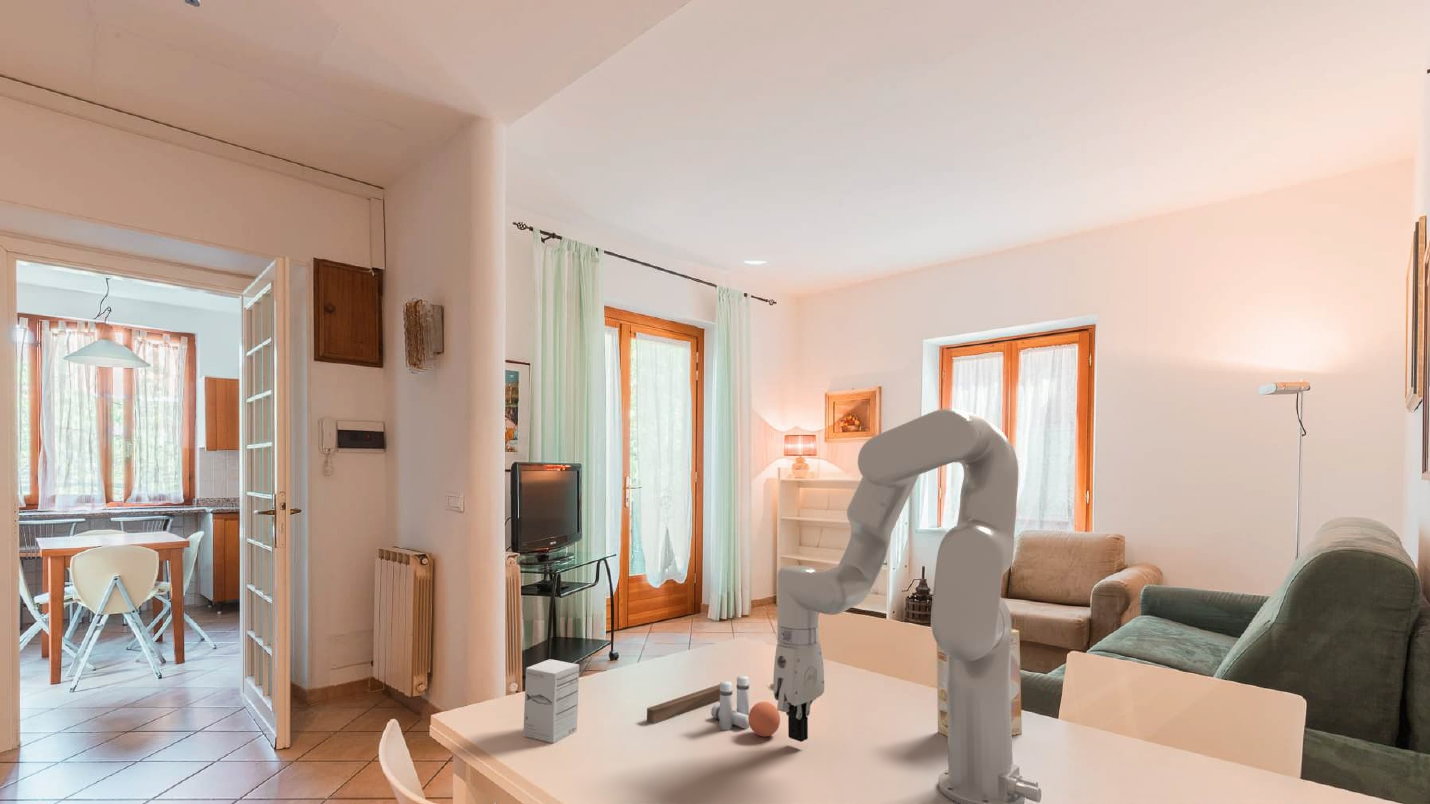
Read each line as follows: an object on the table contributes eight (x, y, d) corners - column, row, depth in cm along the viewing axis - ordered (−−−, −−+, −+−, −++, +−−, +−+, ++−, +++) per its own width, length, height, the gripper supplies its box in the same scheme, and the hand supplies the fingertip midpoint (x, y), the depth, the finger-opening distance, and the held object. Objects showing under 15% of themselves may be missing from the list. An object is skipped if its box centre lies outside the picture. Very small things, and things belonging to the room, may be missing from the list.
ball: (759, 696, 135) (764, 729, 134) (739, 705, 131) (744, 739, 130) (783, 698, 131) (788, 732, 130) (764, 707, 127) (769, 742, 126)
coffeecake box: (962, 745, 126) (959, 636, 128) (936, 731, 133) (934, 628, 134) (1024, 734, 132) (1021, 630, 134) (996, 721, 138) (993, 622, 140)
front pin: (751, 714, 135) (719, 703, 140) (742, 716, 133) (711, 705, 139) (750, 727, 134) (718, 716, 140) (742, 730, 132) (710, 718, 138)
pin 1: (734, 727, 134) (735, 683, 134) (726, 731, 132) (726, 686, 133) (725, 724, 135) (725, 680, 136) (716, 727, 134) (717, 683, 134)
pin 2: (751, 721, 137) (751, 677, 138) (743, 724, 136) (743, 680, 136) (742, 717, 139) (742, 674, 140) (733, 721, 137) (734, 677, 138)
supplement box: (521, 737, 128) (524, 667, 130) (548, 724, 135) (550, 657, 136) (552, 745, 125) (554, 673, 126) (578, 731, 131) (580, 663, 133)
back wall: (728, 697, 151) (728, 685, 152) (653, 723, 135) (653, 710, 136) (721, 695, 153) (722, 683, 153) (646, 721, 137) (646, 708, 137)
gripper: (789, 646, 119) (789, 757, 117) (837, 631, 130) (838, 732, 128) (755, 638, 124) (755, 744, 122) (805, 625, 135) (805, 722, 133)
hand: (798, 738), depth 125 cm, fingers closed
